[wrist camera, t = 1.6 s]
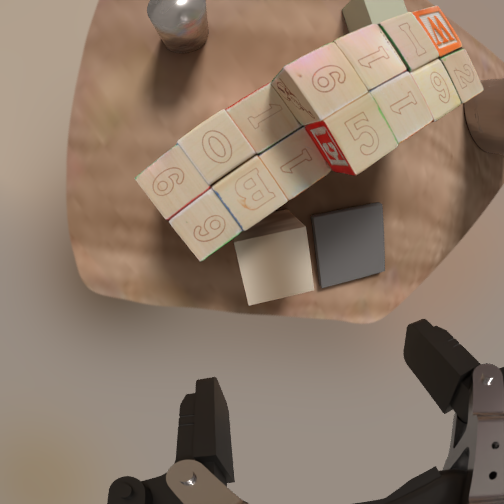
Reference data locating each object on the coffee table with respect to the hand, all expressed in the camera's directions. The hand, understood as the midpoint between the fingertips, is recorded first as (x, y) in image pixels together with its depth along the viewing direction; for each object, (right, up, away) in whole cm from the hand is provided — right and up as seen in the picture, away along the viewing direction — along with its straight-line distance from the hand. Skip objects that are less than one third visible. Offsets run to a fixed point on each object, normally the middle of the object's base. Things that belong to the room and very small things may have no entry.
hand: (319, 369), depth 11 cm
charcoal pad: (+7, +5, +16) cm, 19 cm away
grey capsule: (-8, +23, +8) cm, 26 cm away
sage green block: (+9, +26, +9) cm, 29 cm away
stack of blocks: (+1, +15, +13) cm, 20 cm away
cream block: (-1, +5, +16) cm, 17 cm away
